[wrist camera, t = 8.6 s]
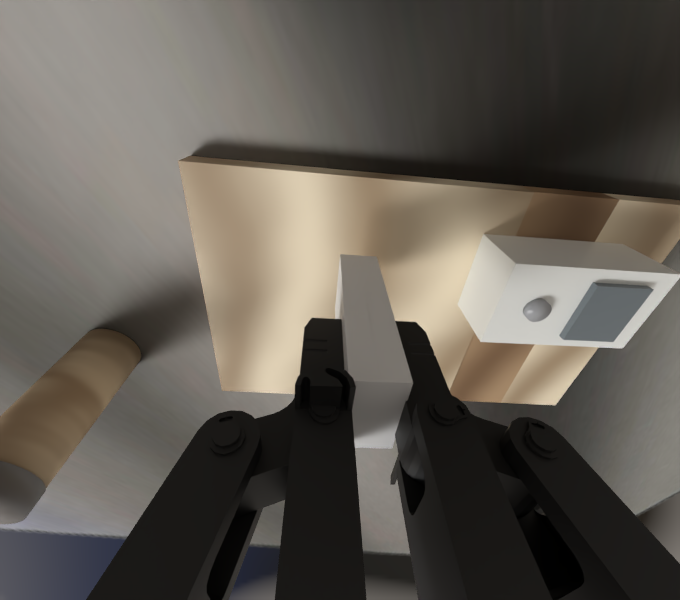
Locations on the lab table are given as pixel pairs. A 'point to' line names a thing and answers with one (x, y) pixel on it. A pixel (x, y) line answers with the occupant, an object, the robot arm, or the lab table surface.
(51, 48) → the lab table surface
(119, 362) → the peg
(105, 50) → the lab table surface
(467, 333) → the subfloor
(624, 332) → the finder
